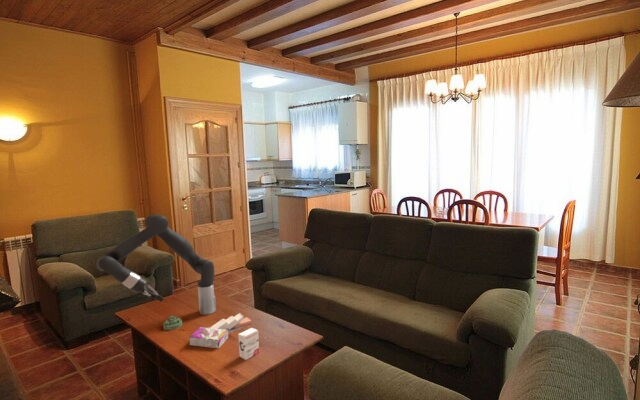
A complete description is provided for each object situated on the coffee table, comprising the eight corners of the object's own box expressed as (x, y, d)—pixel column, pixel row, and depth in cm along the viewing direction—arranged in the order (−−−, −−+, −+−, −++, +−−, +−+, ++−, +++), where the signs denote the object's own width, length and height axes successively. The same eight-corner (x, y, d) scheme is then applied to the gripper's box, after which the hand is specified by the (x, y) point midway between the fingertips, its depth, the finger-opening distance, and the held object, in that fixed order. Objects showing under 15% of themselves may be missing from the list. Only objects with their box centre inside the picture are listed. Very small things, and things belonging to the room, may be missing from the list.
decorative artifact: (159, 328, 207) (170, 332, 201) (158, 316, 206) (169, 320, 200) (175, 321, 215) (186, 325, 210) (174, 309, 214) (185, 313, 209)
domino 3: (225, 326, 205) (240, 315, 210) (229, 329, 201) (244, 318, 205) (224, 323, 205) (239, 312, 209) (228, 327, 200) (243, 316, 205)
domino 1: (208, 331, 200) (224, 320, 205) (212, 335, 195) (228, 324, 200) (207, 329, 199) (223, 318, 204) (210, 333, 195) (227, 321, 200)
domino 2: (217, 328, 203) (233, 317, 207) (221, 332, 198) (236, 321, 203) (216, 326, 202) (231, 315, 207) (220, 330, 198) (235, 318, 202)
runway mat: (235, 322, 211) (235, 321, 211) (242, 328, 203) (242, 328, 203) (199, 333, 199) (199, 332, 199) (205, 340, 191) (205, 339, 191)
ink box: (253, 349, 181) (251, 326, 180) (259, 352, 178) (258, 329, 176) (239, 356, 175) (237, 333, 173) (245, 360, 171) (244, 336, 170)
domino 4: (231, 324, 207) (247, 319, 213) (234, 328, 203) (251, 323, 208) (230, 322, 207) (247, 317, 213) (234, 325, 202) (251, 320, 208)
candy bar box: (200, 325, 195) (228, 329, 192) (200, 334, 196) (228, 337, 193) (188, 336, 185) (218, 340, 181) (189, 345, 185) (219, 349, 182)
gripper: (139, 279, 180) (168, 298, 186) (139, 272, 191) (166, 290, 198) (128, 292, 178) (158, 310, 185) (129, 283, 190) (157, 301, 197)
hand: (162, 300), depth 192 cm, fingers closed
